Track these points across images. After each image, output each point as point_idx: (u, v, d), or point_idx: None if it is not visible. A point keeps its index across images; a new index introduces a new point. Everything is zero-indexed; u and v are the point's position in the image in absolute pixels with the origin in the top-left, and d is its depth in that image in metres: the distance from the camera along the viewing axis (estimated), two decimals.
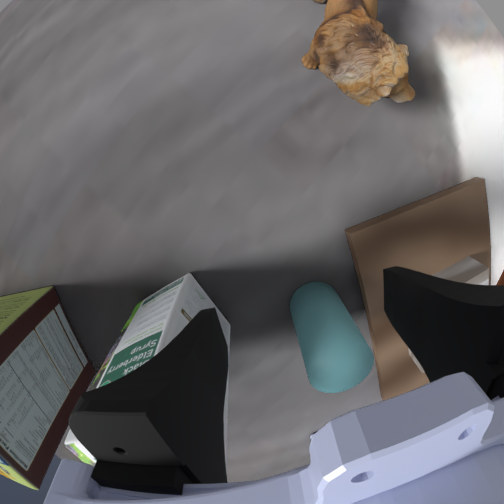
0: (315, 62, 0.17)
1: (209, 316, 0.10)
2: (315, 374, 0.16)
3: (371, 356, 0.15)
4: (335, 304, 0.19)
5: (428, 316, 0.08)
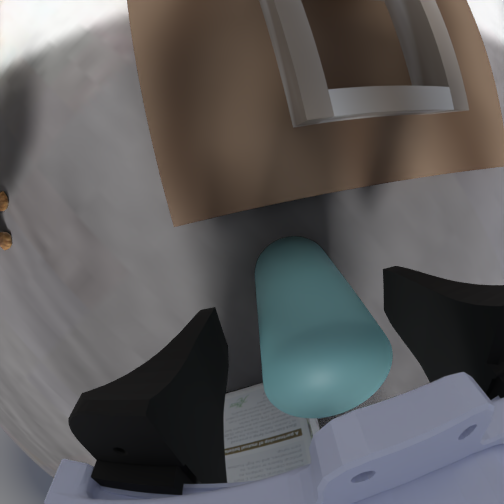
0: (3, 238, 0.14)
1: (209, 316, 0.10)
2: (322, 410, 0.08)
3: (324, 326, 0.07)
4: (262, 288, 0.12)
5: (428, 316, 0.08)
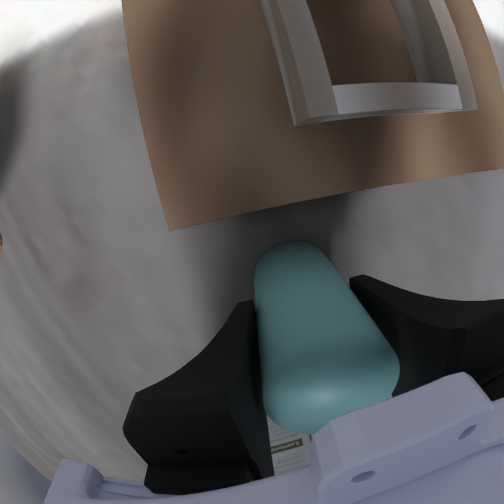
0: None
1: (251, 308, 0.10)
2: None
3: (329, 342, 0.07)
4: (261, 297, 0.11)
5: (388, 330, 0.08)
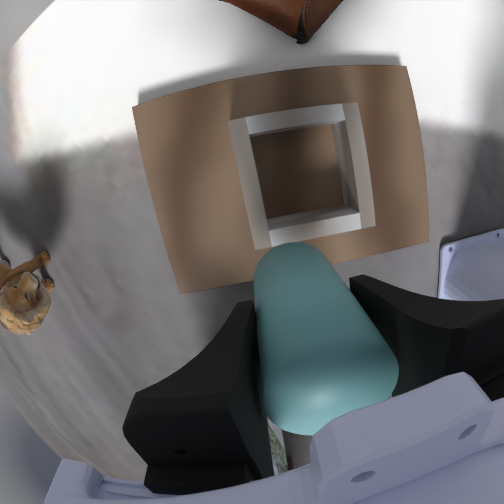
0: (48, 284, 0.22)
1: (250, 308, 0.10)
2: None
3: (330, 344, 0.07)
4: (262, 297, 0.11)
5: (388, 330, 0.08)
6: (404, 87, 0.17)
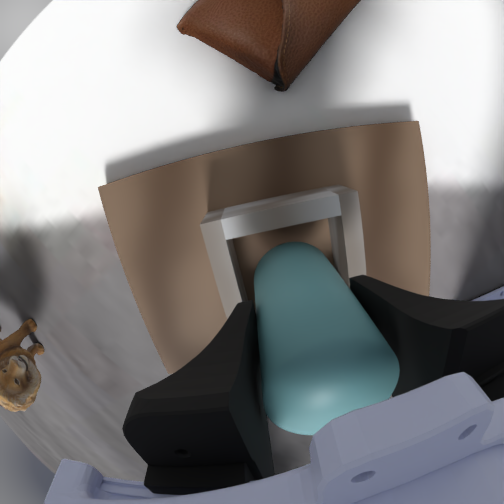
0: (38, 349, 0.21)
1: (250, 308, 0.10)
2: None
3: (332, 343, 0.07)
4: (262, 296, 0.11)
5: (388, 330, 0.08)
6: (414, 149, 0.15)
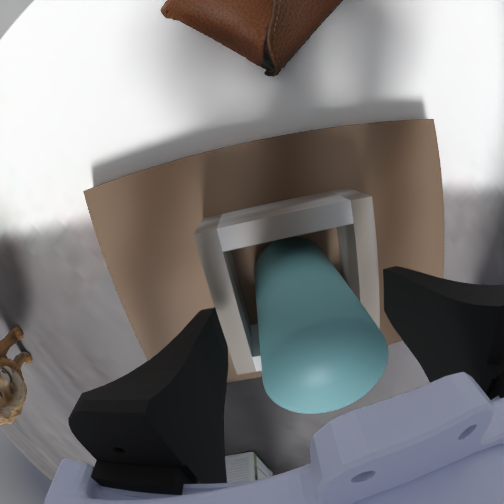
0: (25, 358, 0.19)
1: (209, 316, 0.10)
2: (318, 405, 0.09)
3: (324, 322, 0.08)
4: (262, 285, 0.12)
5: (428, 316, 0.08)
6: (429, 149, 0.14)
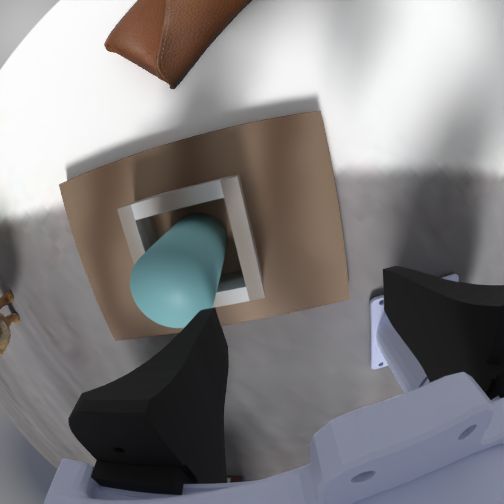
0: (14, 317, 0.24)
1: (209, 316, 0.10)
2: (173, 320, 0.13)
3: (159, 250, 0.12)
4: None
5: (428, 316, 0.08)
6: (316, 137, 0.18)
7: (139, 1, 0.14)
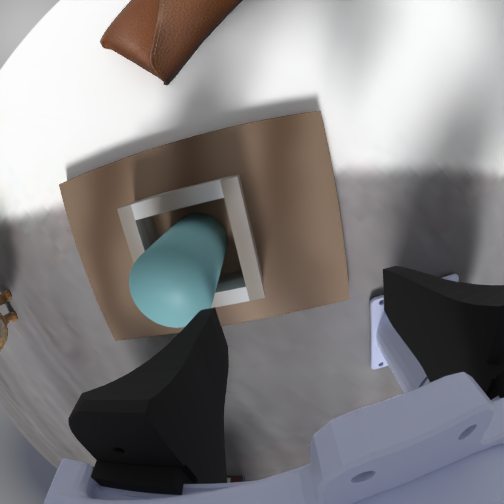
0: (12, 316, 0.24)
1: (209, 316, 0.10)
2: (171, 319, 0.13)
3: (157, 249, 0.12)
4: None
5: (428, 316, 0.08)
6: (316, 137, 0.18)
7: None
